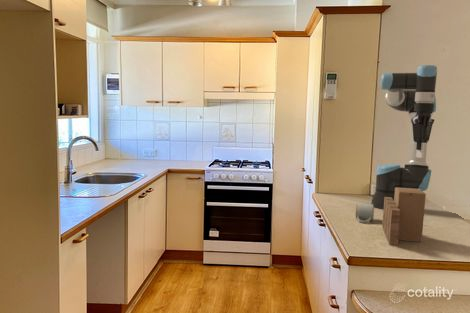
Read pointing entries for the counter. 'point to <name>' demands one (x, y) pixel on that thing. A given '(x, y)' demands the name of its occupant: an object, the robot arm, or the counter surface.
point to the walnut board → (391, 221)
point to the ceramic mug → (364, 213)
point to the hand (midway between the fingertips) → (419, 157)
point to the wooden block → (410, 213)
